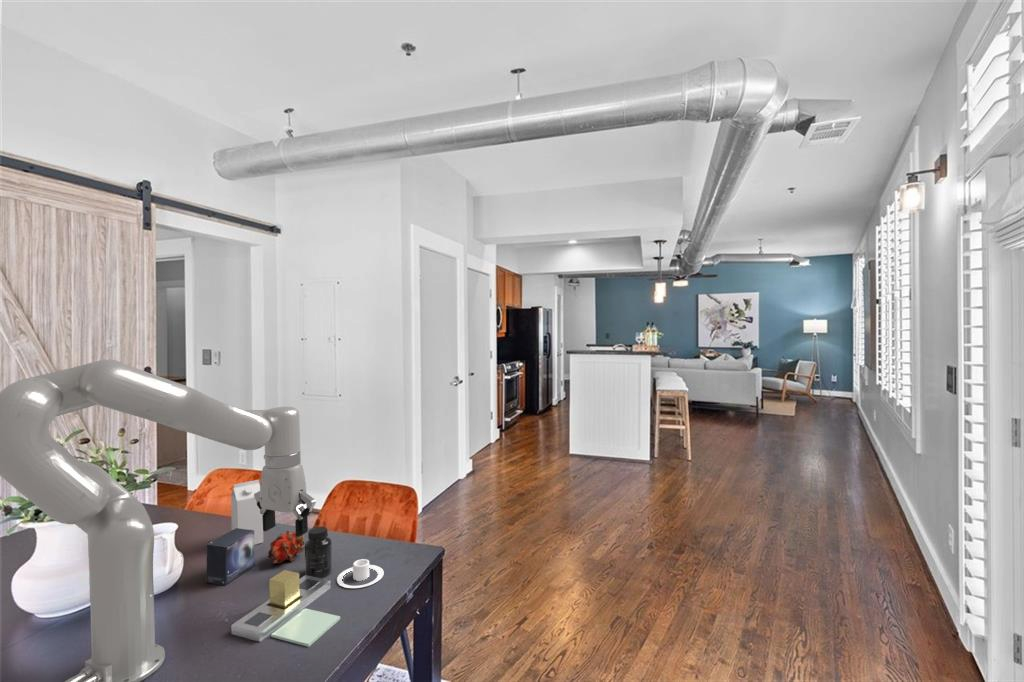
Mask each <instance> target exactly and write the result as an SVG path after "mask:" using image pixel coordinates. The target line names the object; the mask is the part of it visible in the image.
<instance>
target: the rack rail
mask: <svg viewBox="0 0 1024 682" xmlns="http://www.w3.org/2000/svg"><path fill="white" fill-rule="evenodd" d="M330 589H331V580H330V579H326V578H317V577H312V576H307V575H306V574H305V575H303V576H301V577H299V593H300V599H299V600H298V601H297V602H295V603H294V604H293V605H291V606H290V607H289V608H287V609H286V610H283V609H279V608H275V607H271V606H270V598H269V599H268V600H267V601H265V602H263V603H261V604H260V605H259V606H258V607H256V608H254V609H253V610H251V611H250V612H249V613H247V614H246V615H244V616H242V617H241V618H240V619H238V620H237V621H235V622H233V624H231V629H230V630H231V635H233V636H237V637H240V638H241V637H242V638H245V639H247V640H252V641H256V642H262V641H263V640H265V639H266V638H267V637H268V636H269V635H270V636H271V634H272V633H274V632H275V631H276V630H277V629H279V628H280V627H281V626H283V625H284V624H285V623H287V622H288V621H289V620H290V619H292V618H293V617H294V616H296V615H297V614H298V613H300V612H301V611H302V610H304V609H305V608H306V607H307V606H309V605H311V603H313V602H314V601H315V600H317V599H318V598H319V597H321V596H322V595H324V594H325V593H326V592H327V591H329V590H330Z"/></svg>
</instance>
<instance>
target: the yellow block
mask: <svg viewBox="0 0 1024 682" xmlns="http://www.w3.org/2000/svg"><path fill="white" fill-rule="evenodd" d="M299 579H300V573H299V572H295V571H290V570H285V569H284V570H282V571H280V572H279V573H277V574H276V575H274V576H273V577H271V578H270V579H268V580H269V583H268V584H269V599H270V606H271V607H275V608H279V609H283V610H286V609H287V608H289V607H290V606H291V605H293V604H294V603H295V602H297V601H298V600H299V599H300V593H299Z"/></svg>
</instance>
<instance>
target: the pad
mask: <svg viewBox="0 0 1024 682" xmlns="http://www.w3.org/2000/svg"><path fill="white" fill-rule="evenodd" d="M340 620H341V616H340V615H336V614H331V613H327V612H323V611H319V610H313V609H309V608H306V607H305V608H304V609H302V610H301V611H300V612H298V613H297V614H296V615H294V616H293V617H292V618H291V619H289V620H288V621H287V622H285V623H284V624H283V625H281V626H280V627H279V628H278V629H276V630H275V631H274V632H272V633H271V634H270V637H271V638H274V639H278V640H281V641H286V642H289V643H292V644H296V645H299V646H304V647H308V648H309V647H310V646H312V644H314V643H315V642H316V641H317V640H318V639H319V638H321V637H323V635H324V634H325V633H326V632H328V630H330V629H331V628H332V627H333V626H334V625H335V624H337V623H338V622H339V621H340Z"/></svg>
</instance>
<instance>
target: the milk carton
mask: <svg viewBox="0 0 1024 682" xmlns="http://www.w3.org/2000/svg"><path fill="white" fill-rule="evenodd" d="M259 491H260V479H255V480H249V481H245V482H240V483H236V484H235V483H233V489H232V491H231V494H230V513H231V517H230V518H231V531H232V530H234V529H236V528H240V529H247V530H254V546H255V545H259V544H262V543H264V531H263V519H262V515H263V514H260V509H259V507H258V506H257V502H256V500H255V497H254V494H255V493H257V492H259Z"/></svg>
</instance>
